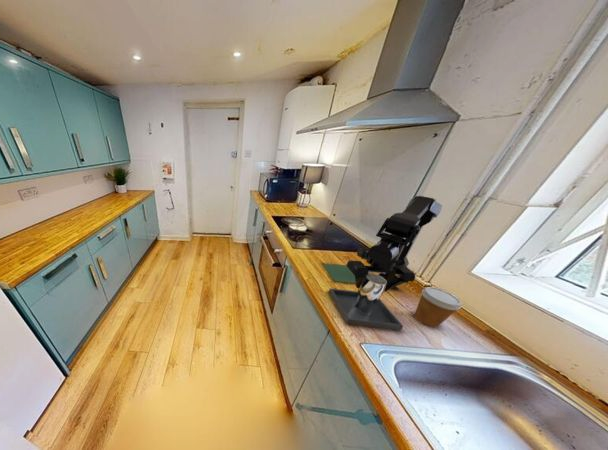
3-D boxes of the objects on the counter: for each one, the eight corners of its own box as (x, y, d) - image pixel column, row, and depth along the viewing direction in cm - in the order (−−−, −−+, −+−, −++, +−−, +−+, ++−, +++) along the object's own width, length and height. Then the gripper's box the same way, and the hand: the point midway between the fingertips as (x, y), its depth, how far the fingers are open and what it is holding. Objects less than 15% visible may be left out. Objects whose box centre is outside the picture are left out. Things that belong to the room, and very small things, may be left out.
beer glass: (376, 318, 73) (393, 286, 66) (355, 314, 74) (369, 283, 68) (366, 303, 79) (380, 273, 73) (347, 300, 80) (360, 271, 74)
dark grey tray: (372, 297, 83) (374, 293, 82) (400, 331, 68) (403, 326, 67) (328, 292, 85) (329, 288, 84) (346, 324, 71) (348, 319, 69)
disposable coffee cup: (449, 336, 67) (469, 311, 62) (412, 323, 72) (428, 298, 67) (438, 316, 74) (456, 292, 70) (405, 306, 79) (419, 282, 74)
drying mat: (355, 267, 102) (355, 266, 102) (371, 285, 89) (371, 285, 89) (322, 264, 104) (322, 263, 104) (334, 281, 91) (334, 281, 91)
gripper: (400, 243, 72) (383, 277, 78) (346, 239, 74) (333, 272, 81) (427, 261, 62) (404, 298, 68) (362, 255, 64) (347, 291, 71)
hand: (370, 288), depth 72 cm, fingers open, 9 cm apart
